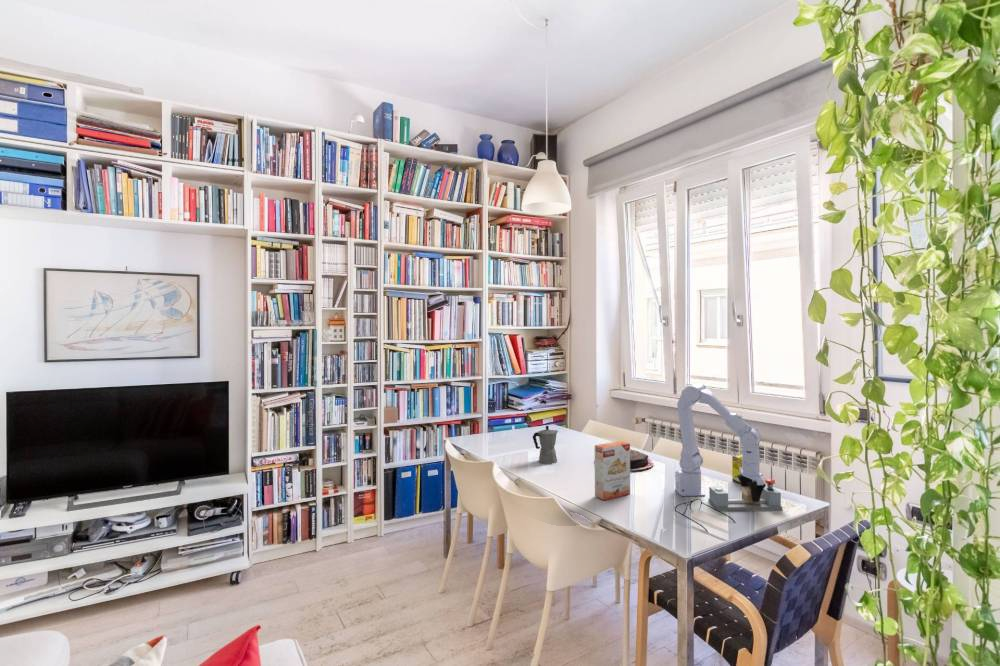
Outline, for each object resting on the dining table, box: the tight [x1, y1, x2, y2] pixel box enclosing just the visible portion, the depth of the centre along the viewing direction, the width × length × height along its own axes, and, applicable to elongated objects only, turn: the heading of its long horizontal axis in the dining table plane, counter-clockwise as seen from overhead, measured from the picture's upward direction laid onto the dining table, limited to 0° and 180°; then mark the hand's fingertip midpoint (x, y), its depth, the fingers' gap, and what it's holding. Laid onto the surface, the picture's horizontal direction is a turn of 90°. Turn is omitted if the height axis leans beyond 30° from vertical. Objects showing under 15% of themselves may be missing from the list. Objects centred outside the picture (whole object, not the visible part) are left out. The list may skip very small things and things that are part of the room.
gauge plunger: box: [764, 478, 776, 491], centre depth 180 cm, size 3×3×4 cm
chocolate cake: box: [630, 448, 654, 472], centre depth 237 cm, size 28×28×7 cm
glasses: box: [674, 498, 737, 533], centre depth 169 cm, size 14×15×5 cm
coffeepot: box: [532, 425, 559, 465], centre depth 242 cm, size 15×9×18 cm, turn 121°
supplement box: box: [731, 454, 753, 485], centre depth 206 cm, size 6×6×11 cm
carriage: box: [741, 486, 761, 504], centre depth 181 cm, size 5×4×5 cm
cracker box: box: [594, 440, 631, 501], centre depth 194 cm, size 14×6×21 cm, turn 118°
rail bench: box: [707, 485, 783, 512], centre depth 181 cm, size 23×9×6 cm, turn 88°
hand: (751, 497), depth 181 cm, fingers open, 6 cm apart
